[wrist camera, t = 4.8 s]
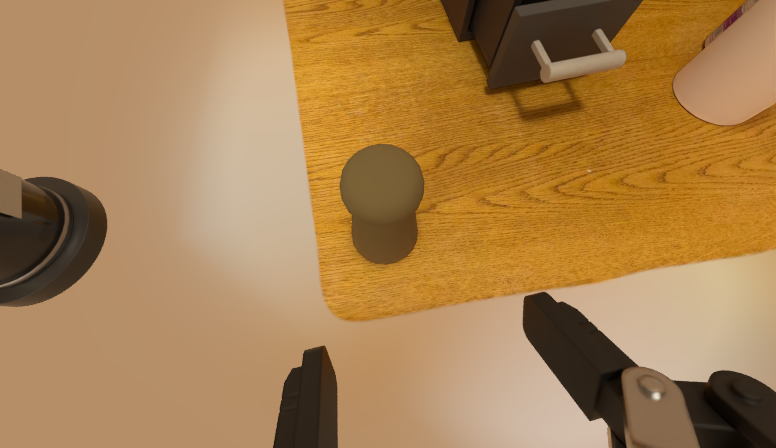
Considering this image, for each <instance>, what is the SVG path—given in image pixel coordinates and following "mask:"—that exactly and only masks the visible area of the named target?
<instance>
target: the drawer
mask: <svg viewBox="0 0 776 448" xmlns="http://www.w3.org/2000/svg"><path fill="white" fill-rule="evenodd" d="M642 1H643V0H475V4H474V8H473V12H472V16H471V19H470V23H469V24H470V27H471V29H472V31H473V33H474V36H475V38H476V40H477V42H478V44H479V47H480V49H481V51H482V53H483V55H484V58H485V60H486V62H487V64H488V66H489V68H490V67H491V70H490V72H489V75H488V77H487V80H486V81H487V84H488V86H489V88H490V89H493V88H498V87H503V86H508V85H513V84H519V83H524V82H529V81H534V80H539V79H541V80H542V82H544V83H547V82H552V81H557V80H562V79H567V78H573V77H578V76H583V75H588V74H593V73H598V72H603V71H608V70H613V69H618V68H620V67H622V66H623V65H624V63H625V61H626V53H625V51H624V50H614V48H613V47H612V45H611V44H610V42H611V41H612V40H613V38H614V37H615V36H616V35H617V33H618V32H619V31H620V29H621V28H622V27H623V26H624V24H625V23H626V22H627V20H628V19H629V18H630V16H631V15H632V14H633V13H634V11H635V10H636V9H637V7H638V6H639V5H640V3H641V2H642Z"/></svg>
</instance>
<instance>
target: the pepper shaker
mask: <svg viewBox="0 0 776 448" xmlns="http://www.w3.org/2000/svg"><path fill="white" fill-rule="evenodd" d="M340 192H341V197H342V200H343V202H344V204H345V206H346V208H347V209H348V211H349V213H350V214H352V239H353V244H354V245H355V247H356V249H357V251H358V252H359V253H360V254H361V255H362V256H363V257H364V258H365V259H367V260H369V261H372V262H374V263H378V264H390V263H395V262H398V261H400V260H401V259H403V258H405V257H406V256H407V255H408V254H409V253H410V252H411V251H412V250H413V248H414V245H415V243H416V241H417V231H418V229H417V222H416V214H415V211H416V210H417V209H418V207H419V204H420V202H421V200H422V197H423V194H424V179H423V175H422V172H421V169H420V166H419V165H418V163H417V162H416V160H415V159H414V157H413V156H411V155H410V154H409V153H407V152H406V151H405V150H403V149H401V148H398V147H396V146H393V145H387V144H377V145H371V146H368V147H366V148H364V149H362V150H360V151H358V152H356V153H355V154H354V155H353V156H352V157H351V158H350V159H349V160H348V161H347V163H346V165H345V167H344V168H343V170H342V175H341V181H340Z"/></svg>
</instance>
